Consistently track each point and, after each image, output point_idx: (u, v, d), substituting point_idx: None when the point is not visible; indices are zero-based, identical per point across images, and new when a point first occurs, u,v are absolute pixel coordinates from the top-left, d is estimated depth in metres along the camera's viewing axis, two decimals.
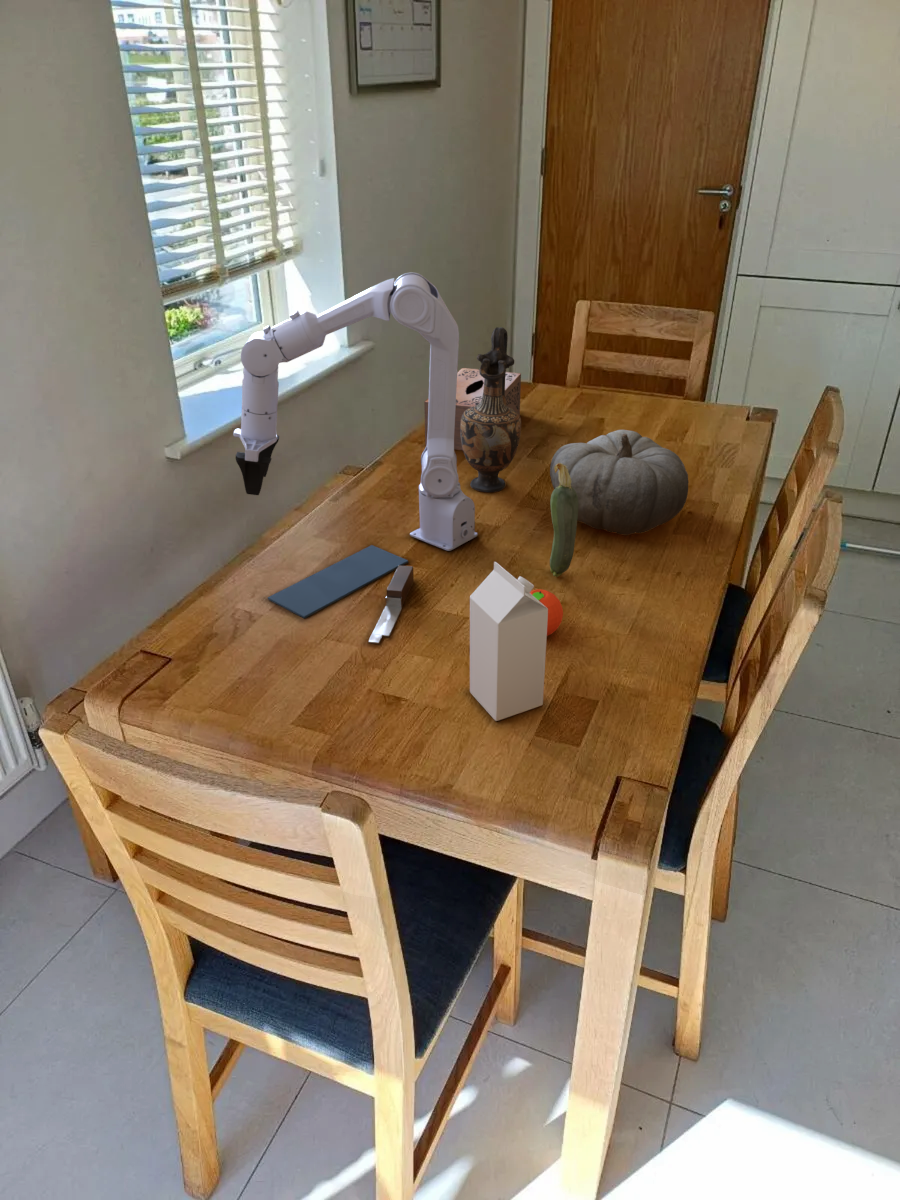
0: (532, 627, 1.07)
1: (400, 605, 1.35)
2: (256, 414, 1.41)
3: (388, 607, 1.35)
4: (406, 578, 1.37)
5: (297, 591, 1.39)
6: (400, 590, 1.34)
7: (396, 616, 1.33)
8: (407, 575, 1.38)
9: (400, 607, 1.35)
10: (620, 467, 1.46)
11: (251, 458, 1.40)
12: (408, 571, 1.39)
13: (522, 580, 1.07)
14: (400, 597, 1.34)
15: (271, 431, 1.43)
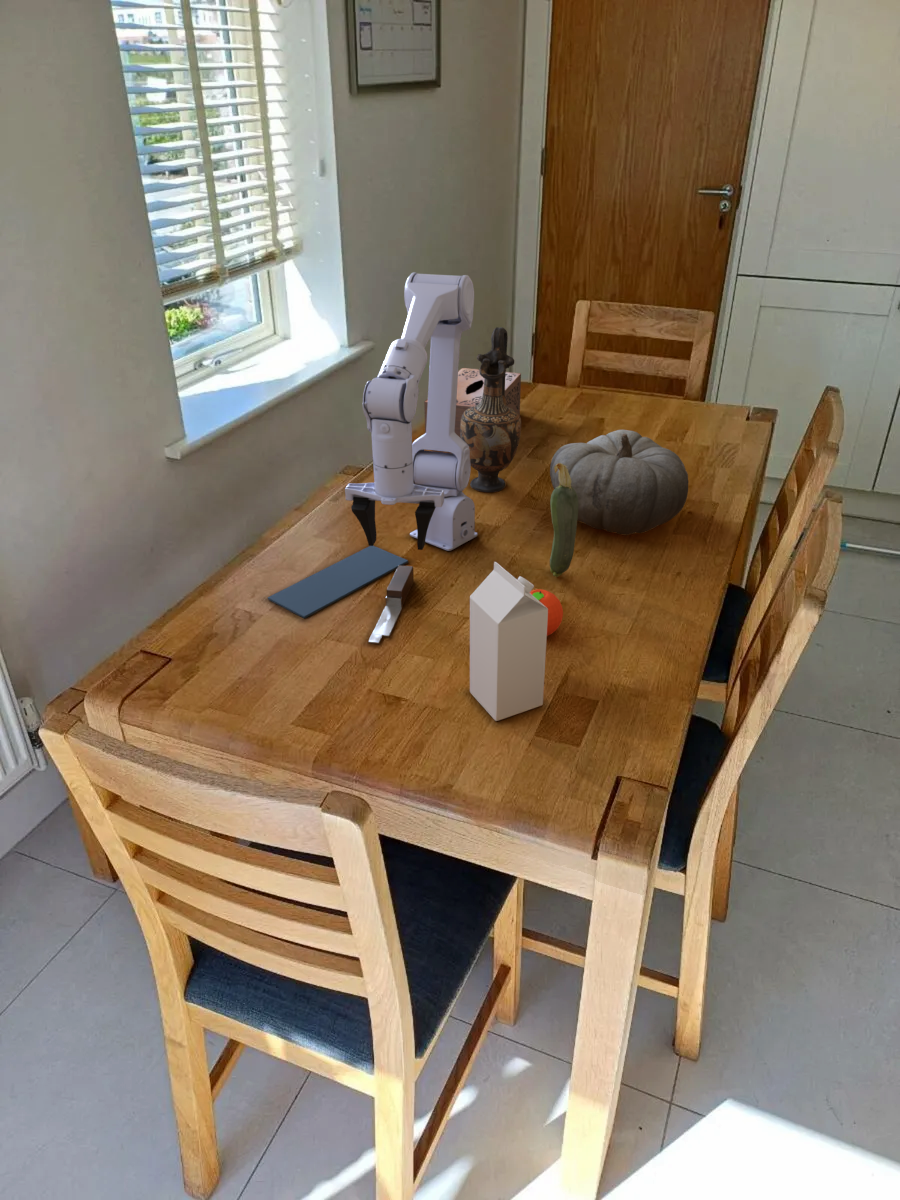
0: (532, 627, 1.07)
1: (400, 605, 1.35)
2: (412, 462, 1.26)
3: (388, 607, 1.35)
4: (406, 578, 1.37)
5: (297, 591, 1.39)
6: (400, 590, 1.34)
7: (396, 616, 1.33)
8: (407, 575, 1.38)
9: (400, 607, 1.35)
10: (620, 467, 1.46)
11: (442, 501, 1.28)
12: (408, 571, 1.39)
13: (522, 580, 1.07)
14: (400, 597, 1.34)
15: None
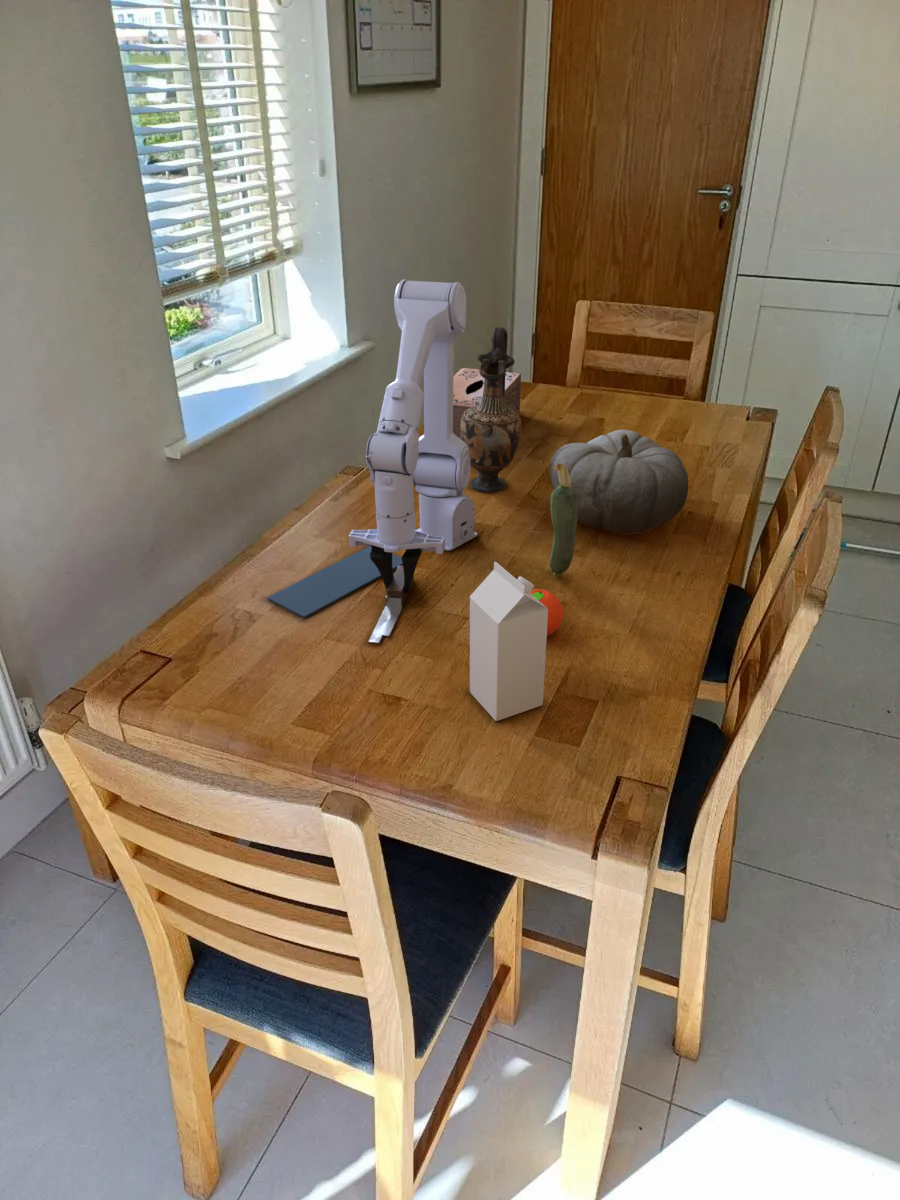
0: (532, 627, 1.07)
1: (400, 605, 1.35)
2: (413, 511, 1.30)
3: (388, 607, 1.35)
4: None
5: (297, 591, 1.39)
6: (400, 590, 1.34)
7: (396, 616, 1.33)
8: None
9: (400, 607, 1.35)
10: (620, 467, 1.46)
11: (443, 548, 1.32)
12: None
13: (522, 580, 1.07)
14: (400, 597, 1.34)
15: None
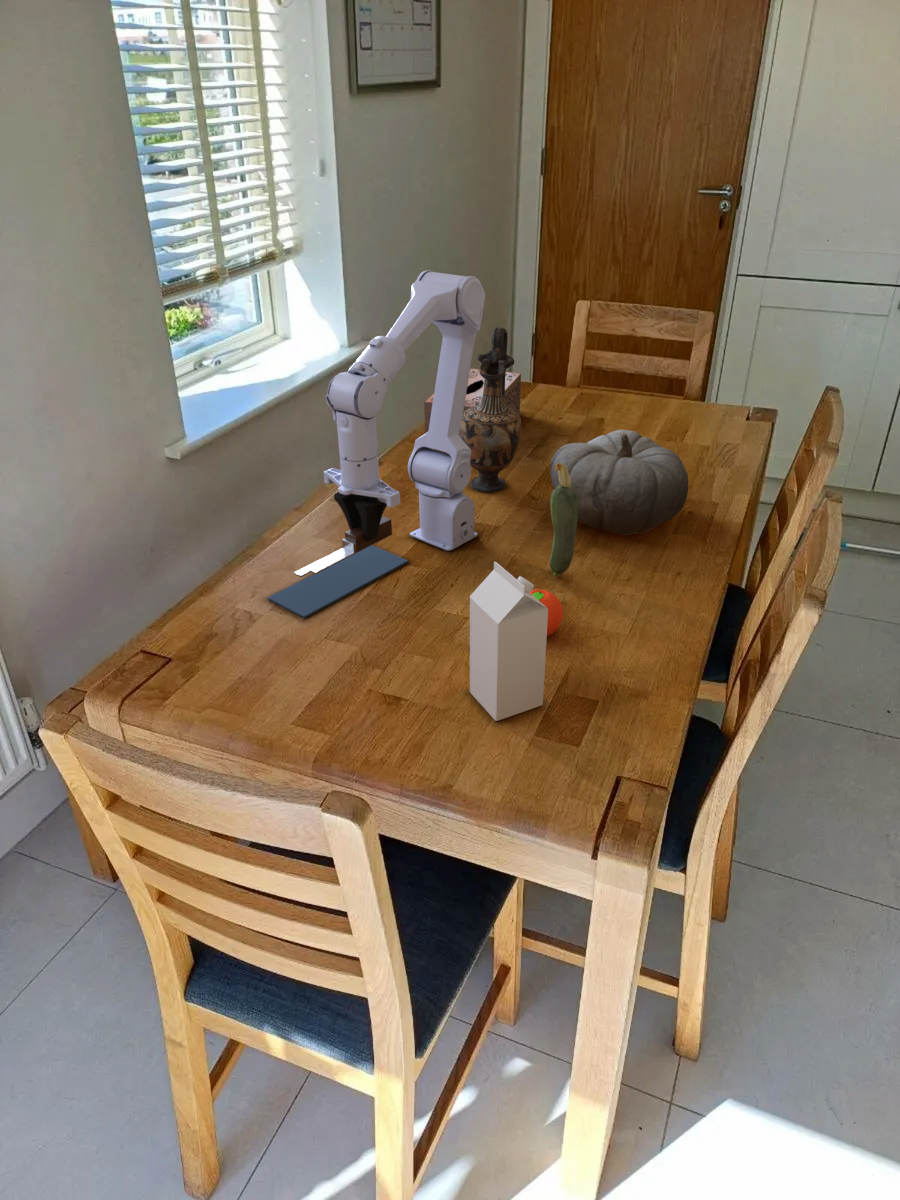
0: (532, 627, 1.07)
1: (353, 550, 1.35)
2: (372, 459, 1.29)
3: (343, 549, 1.36)
4: None
5: (297, 591, 1.39)
6: (355, 535, 1.35)
7: (340, 559, 1.34)
8: None
9: (352, 552, 1.35)
10: (620, 467, 1.46)
11: (395, 502, 1.30)
12: (381, 522, 1.39)
13: (522, 580, 1.07)
14: (354, 542, 1.35)
15: None
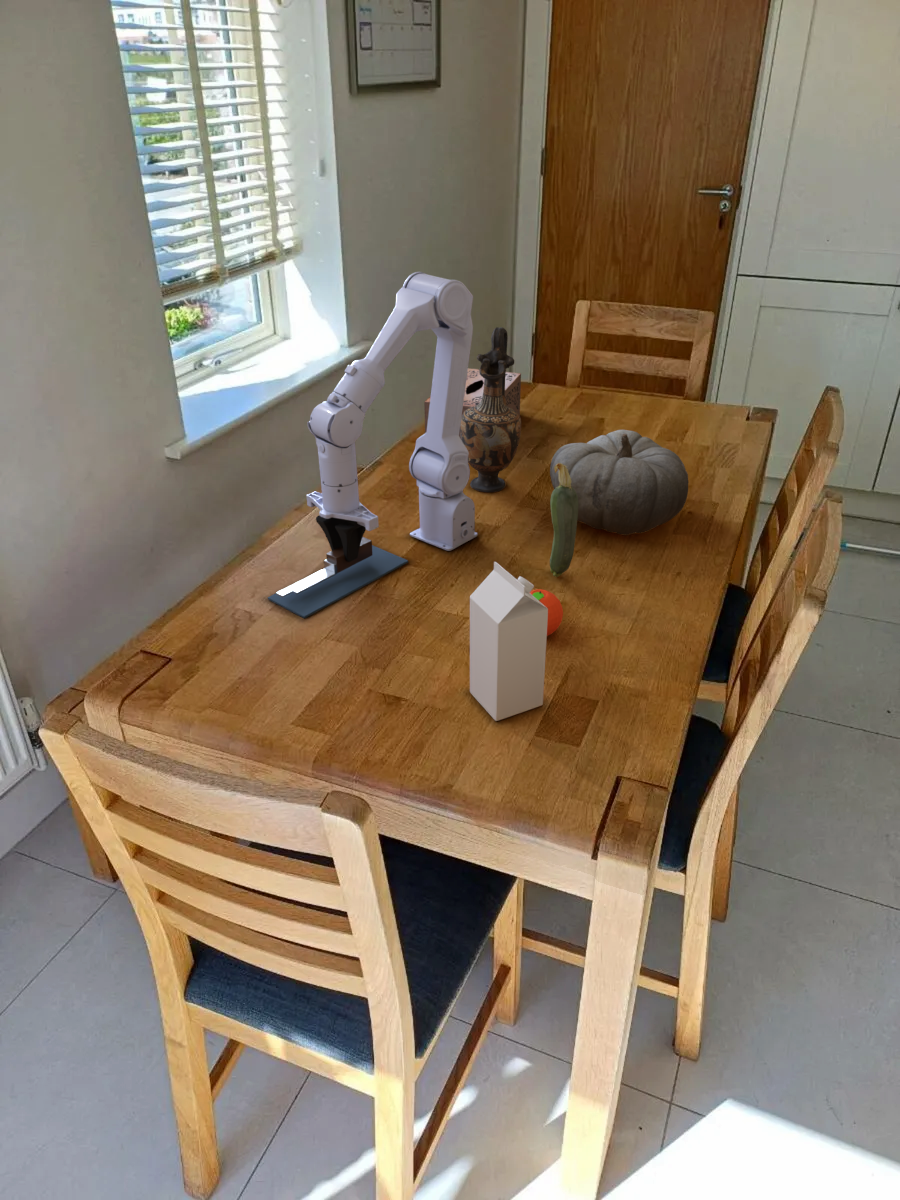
0: (532, 627, 1.07)
1: (334, 571, 1.41)
2: (351, 484, 1.35)
3: (324, 570, 1.42)
4: None
5: None
6: (336, 557, 1.40)
7: (321, 579, 1.39)
8: None
9: (333, 573, 1.41)
10: (620, 467, 1.46)
11: (374, 526, 1.35)
12: (362, 543, 1.44)
13: (522, 580, 1.07)
14: (335, 563, 1.41)
15: None
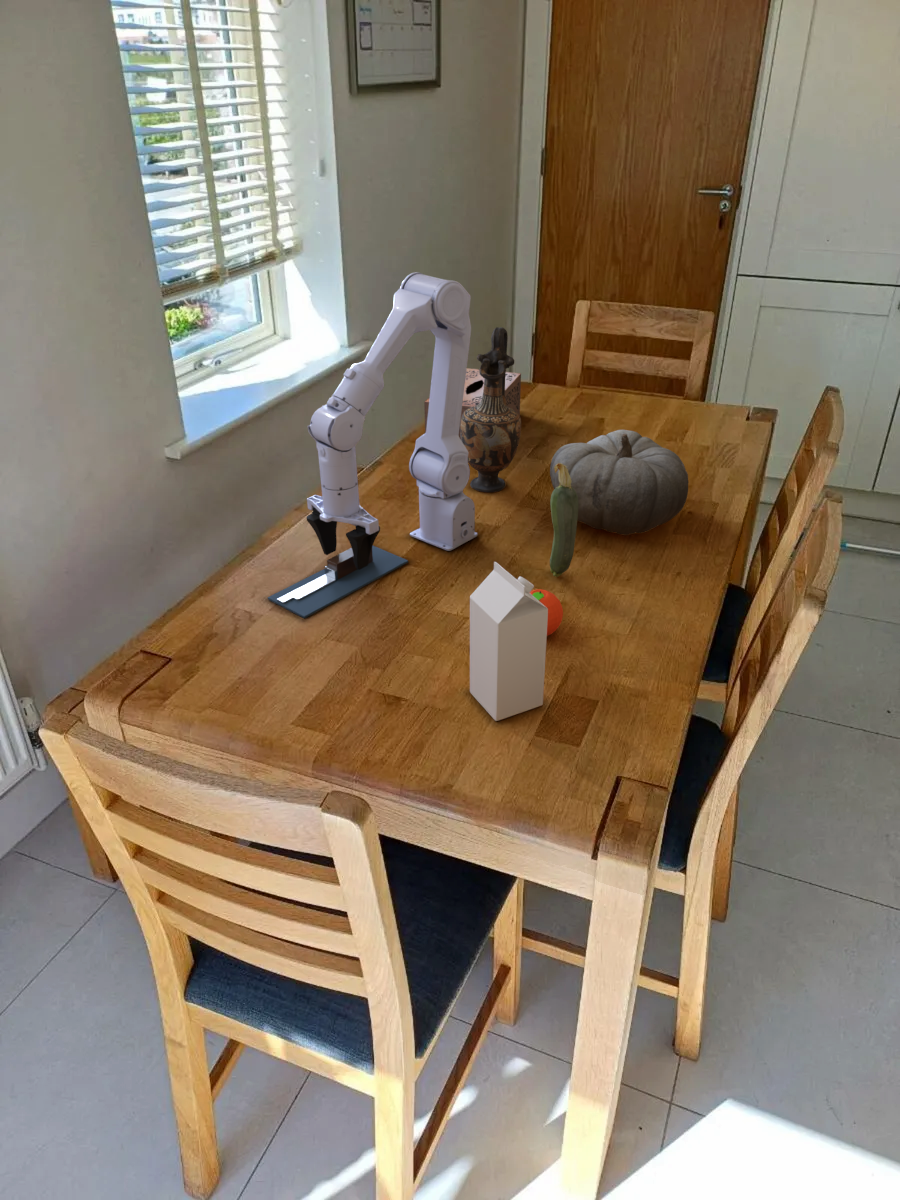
0: (532, 627, 1.07)
1: (334, 577, 1.41)
2: (352, 488, 1.35)
3: (325, 576, 1.42)
4: None
5: None
6: (336, 563, 1.41)
7: (322, 585, 1.40)
8: None
9: (334, 579, 1.42)
10: (620, 467, 1.46)
11: (374, 529, 1.36)
12: None
13: (522, 580, 1.07)
14: (335, 570, 1.41)
15: None
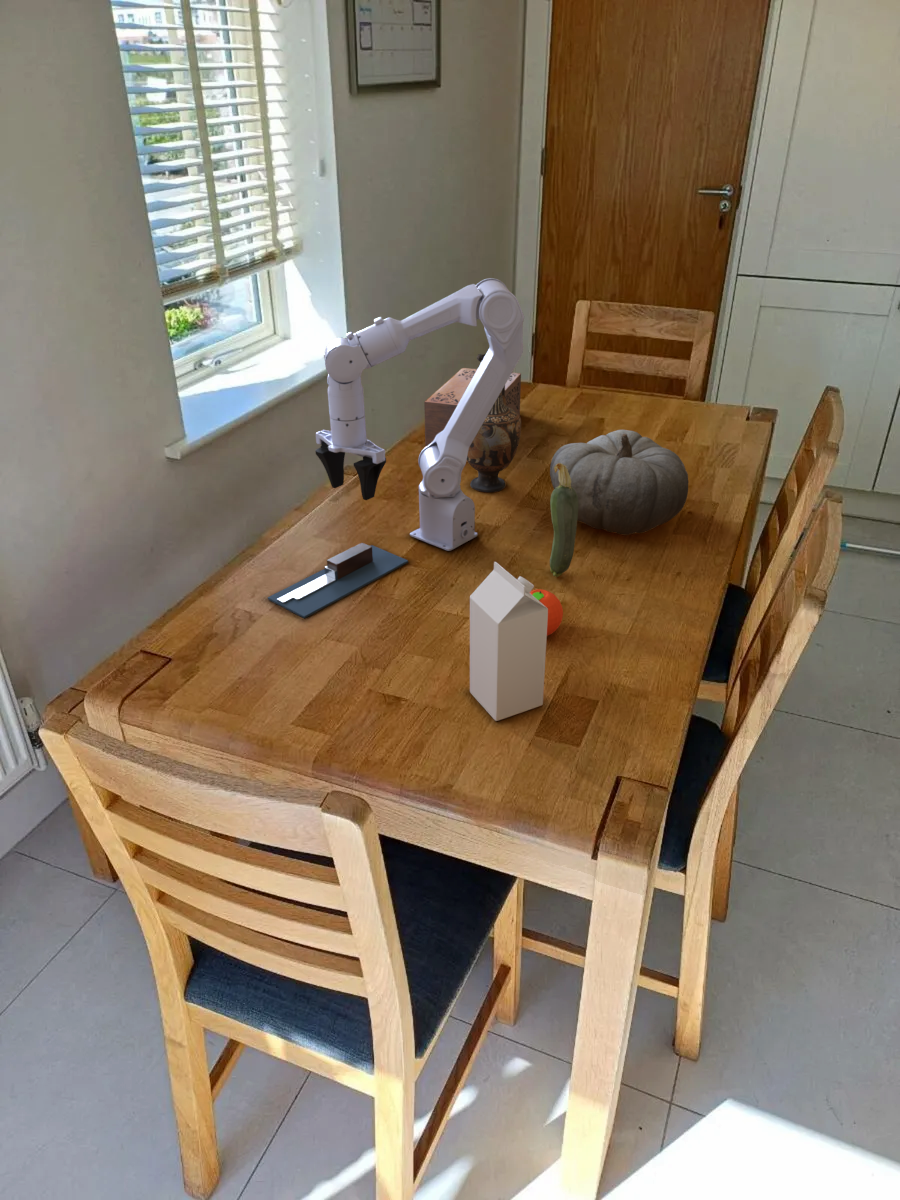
0: (532, 627, 1.07)
1: (334, 577, 1.41)
2: (359, 419, 1.41)
3: (325, 576, 1.42)
4: (354, 555, 1.43)
5: None
6: (336, 563, 1.41)
7: (322, 585, 1.40)
8: (357, 552, 1.44)
9: (334, 579, 1.42)
10: (620, 467, 1.46)
11: (381, 459, 1.42)
12: (362, 549, 1.45)
13: (522, 580, 1.07)
14: (335, 570, 1.41)
15: None
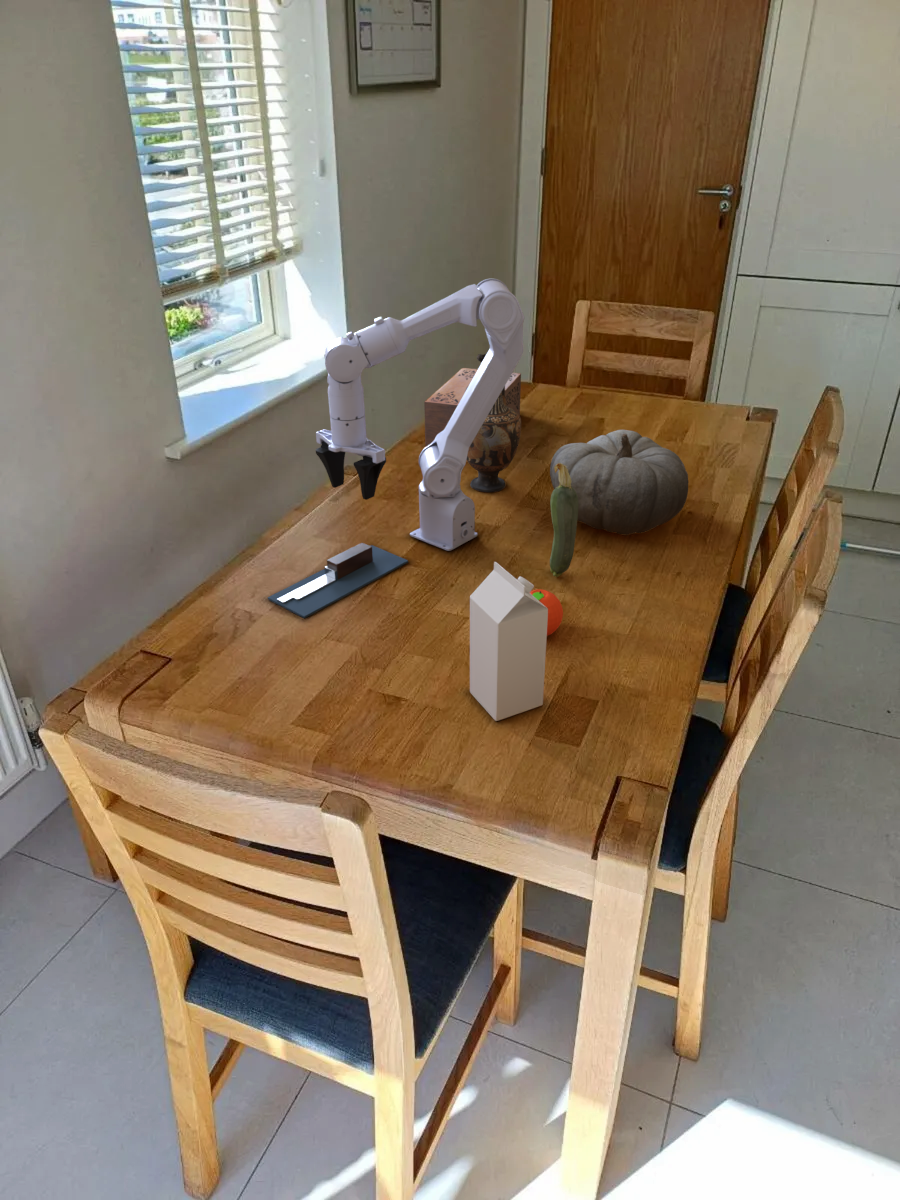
0: (532, 627, 1.07)
1: (334, 577, 1.41)
2: (359, 418, 1.41)
3: (325, 576, 1.42)
4: (354, 555, 1.43)
5: None
6: (336, 563, 1.41)
7: (322, 585, 1.40)
8: (357, 552, 1.44)
9: (334, 579, 1.42)
10: (620, 467, 1.46)
11: (381, 459, 1.42)
12: (362, 549, 1.45)
13: (522, 580, 1.07)
14: (335, 570, 1.41)
15: None
